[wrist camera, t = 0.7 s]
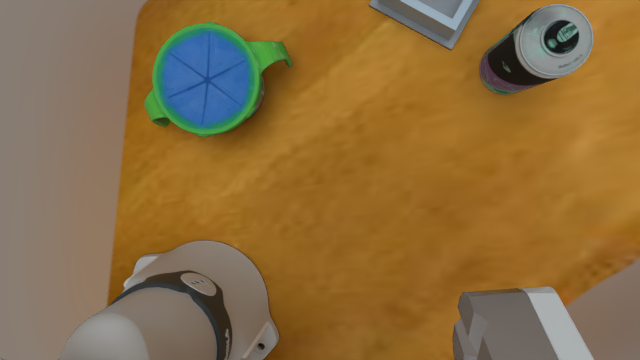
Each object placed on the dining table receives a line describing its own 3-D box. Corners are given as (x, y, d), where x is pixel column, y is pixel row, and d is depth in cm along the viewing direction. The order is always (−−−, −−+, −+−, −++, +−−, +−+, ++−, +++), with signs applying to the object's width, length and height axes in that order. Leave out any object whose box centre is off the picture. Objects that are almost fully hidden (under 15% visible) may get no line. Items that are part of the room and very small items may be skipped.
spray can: (470, 83, 59) (513, 56, 39) (492, 34, 58) (547, -18, 39) (518, 102, 59) (586, 85, 39) (541, 54, 58) (621, 11, 38)
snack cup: (284, 20, 61) (264, -3, 51) (313, 111, 61) (299, 106, 51) (156, 66, 63) (112, 52, 53) (185, 154, 63) (147, 157, 53)
